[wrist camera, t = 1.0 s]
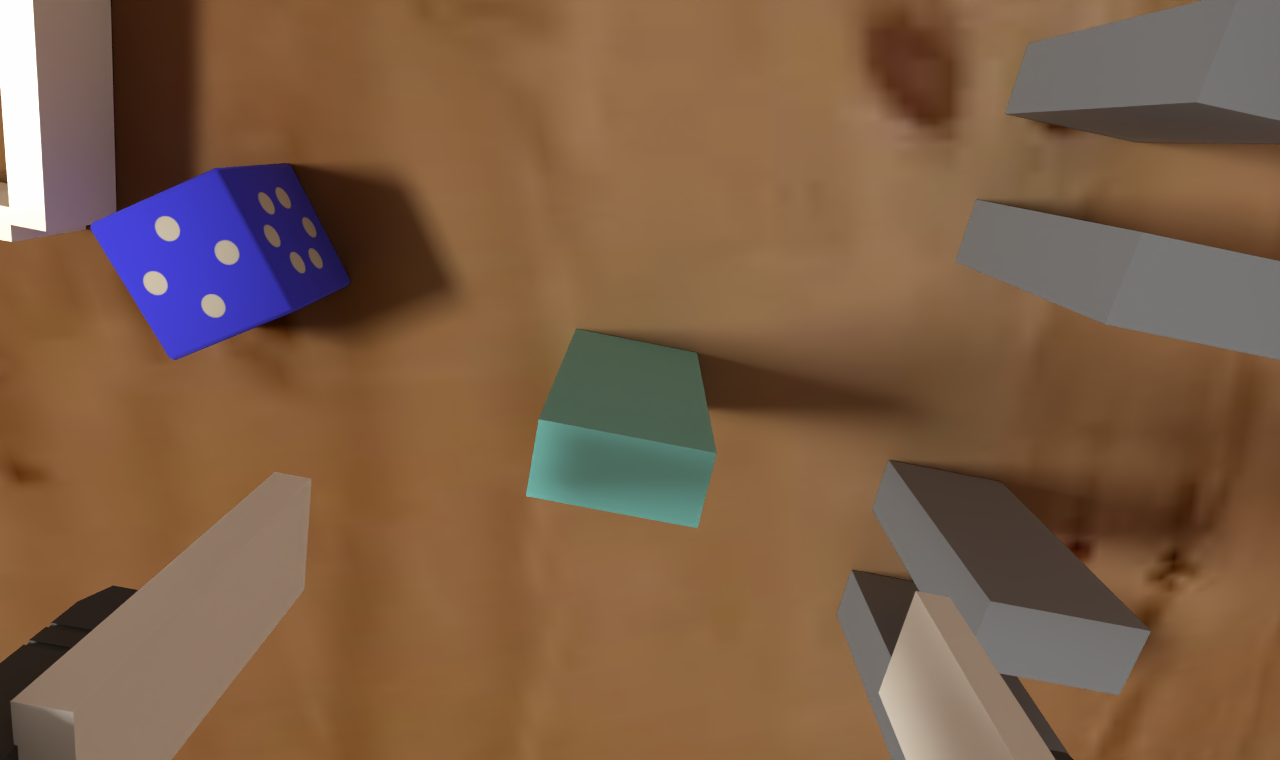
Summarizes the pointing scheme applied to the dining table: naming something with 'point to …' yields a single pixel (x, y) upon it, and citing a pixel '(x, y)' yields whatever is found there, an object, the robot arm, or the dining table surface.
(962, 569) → the domino
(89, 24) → the white flat rectangular frame
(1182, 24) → the domino
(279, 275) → the die
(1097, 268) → the domino
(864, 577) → the domino
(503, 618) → the dining table surface
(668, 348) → the domino
